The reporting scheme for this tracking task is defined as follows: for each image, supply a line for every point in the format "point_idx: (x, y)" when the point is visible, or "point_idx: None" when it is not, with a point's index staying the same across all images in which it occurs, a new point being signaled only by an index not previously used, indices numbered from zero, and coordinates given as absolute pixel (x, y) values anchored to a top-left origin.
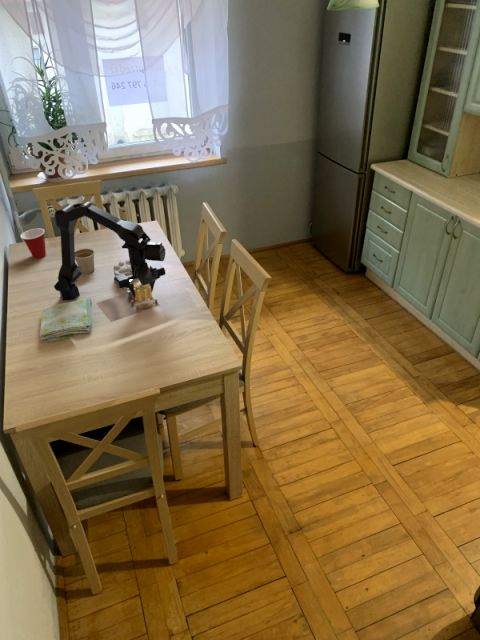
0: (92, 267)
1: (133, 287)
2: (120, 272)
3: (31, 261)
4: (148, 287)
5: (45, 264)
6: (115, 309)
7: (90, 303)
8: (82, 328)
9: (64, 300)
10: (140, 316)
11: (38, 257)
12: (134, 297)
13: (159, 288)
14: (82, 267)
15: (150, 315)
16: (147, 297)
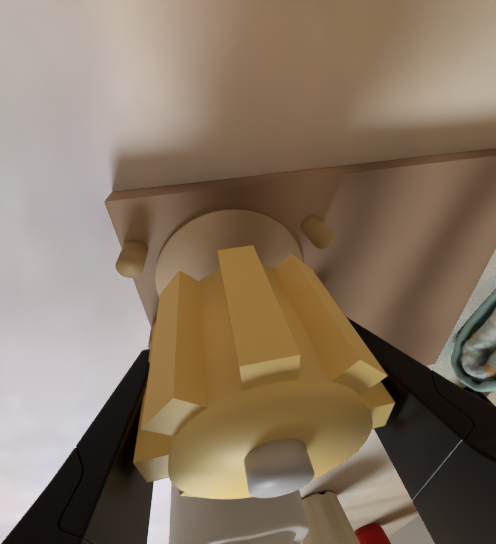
0: (311, 515)
1: (478, 450)
2: (289, 537)
3: (390, 517)
4: (187, 414)
5: (377, 512)
6: (417, 283)
7: (494, 359)
8: None
9: (488, 401)
10: (317, 137)
11: (375, 527)
12: (346, 317)
13: (85, 401)
14: (344, 519)
15: (236, 99)
16: (229, 269)
